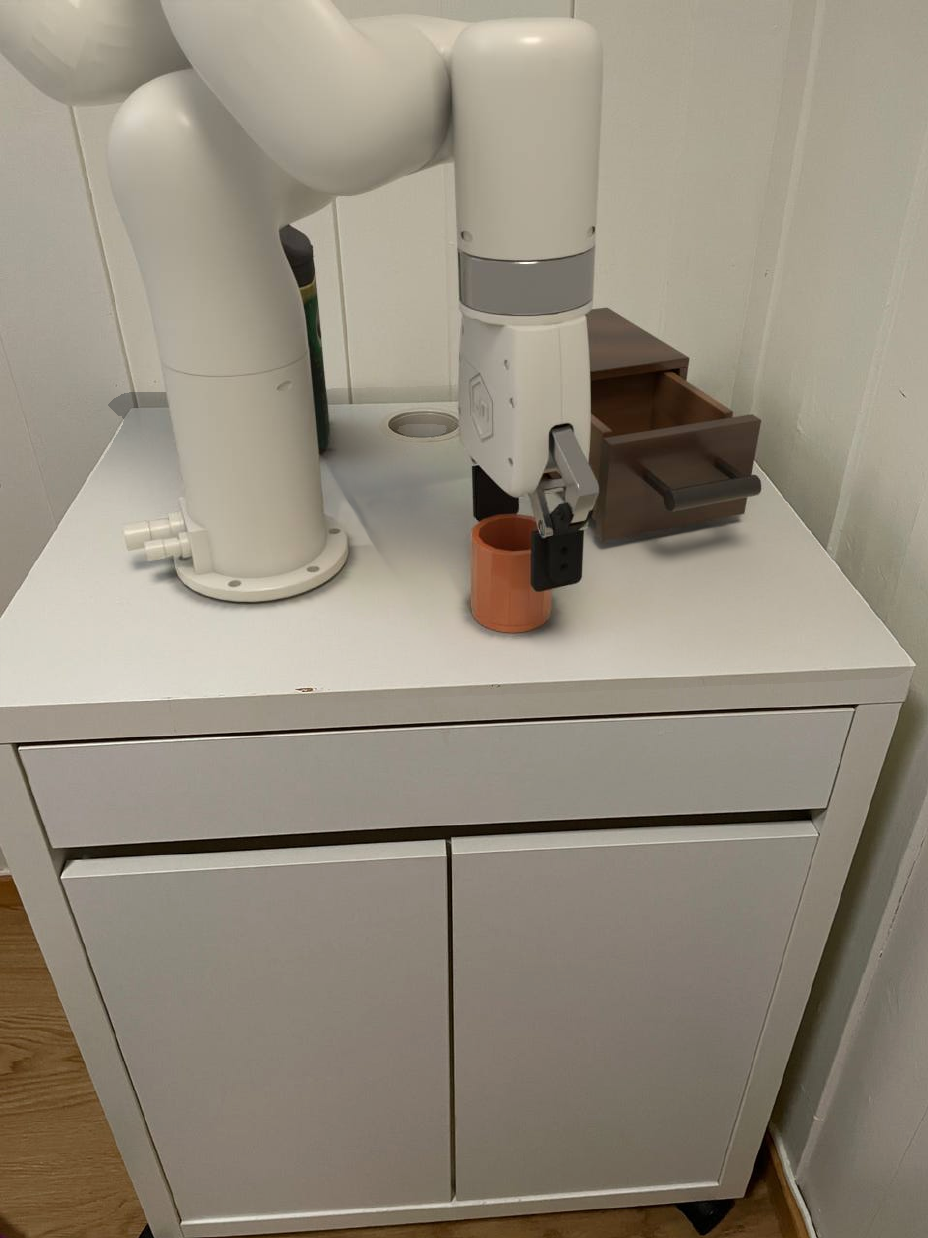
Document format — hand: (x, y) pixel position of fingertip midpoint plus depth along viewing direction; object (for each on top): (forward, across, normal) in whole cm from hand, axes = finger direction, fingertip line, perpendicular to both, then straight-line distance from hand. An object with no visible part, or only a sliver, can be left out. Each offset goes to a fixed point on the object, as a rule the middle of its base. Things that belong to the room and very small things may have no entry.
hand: (524, 548), depth 64 cm
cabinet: (+5, -24, +15) cm, 29 cm away
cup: (+5, -1, -1) cm, 5 cm away
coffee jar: (+4, -33, -9) cm, 35 cm away
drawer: (+4, -10, +15) cm, 18 cm away
